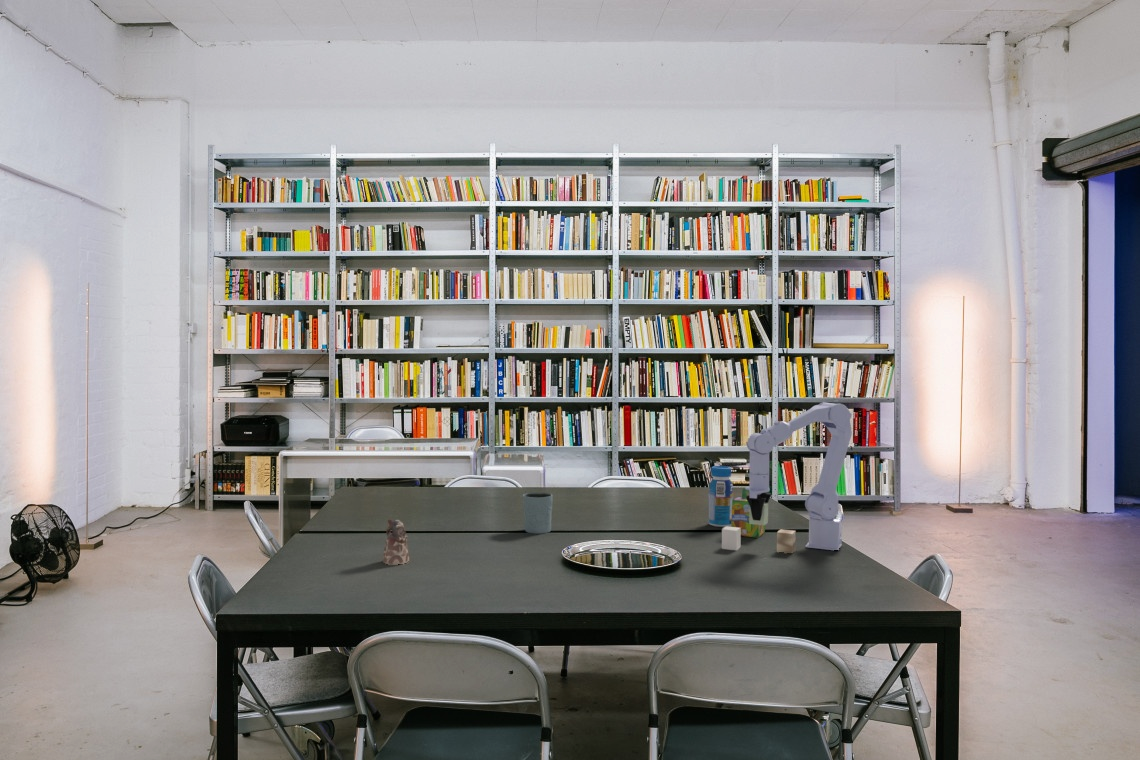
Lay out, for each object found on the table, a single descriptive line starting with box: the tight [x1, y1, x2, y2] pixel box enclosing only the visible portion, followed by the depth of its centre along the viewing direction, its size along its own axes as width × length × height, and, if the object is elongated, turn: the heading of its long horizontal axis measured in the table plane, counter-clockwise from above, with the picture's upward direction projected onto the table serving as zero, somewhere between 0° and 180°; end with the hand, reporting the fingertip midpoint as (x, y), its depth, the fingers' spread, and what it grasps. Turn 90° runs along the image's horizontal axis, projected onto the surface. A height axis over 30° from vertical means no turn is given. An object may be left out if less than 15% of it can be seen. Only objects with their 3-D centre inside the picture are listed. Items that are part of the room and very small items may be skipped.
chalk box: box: [730, 487, 766, 539], centre depth 250 cm, size 9×9×15 cm
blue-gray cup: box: [522, 492, 554, 534], centre depth 254 cm, size 10×10×12 cm
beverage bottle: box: [708, 465, 734, 528], centre depth 264 cm, size 8×8×20 cm
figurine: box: [382, 518, 410, 566], centre depth 214 cm, size 7×7×12 cm
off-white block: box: [721, 526, 742, 551], centre depth 232 cm, size 4×4×6 cm
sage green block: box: [749, 502, 769, 526], centre depth 229 cm, size 4×4×6 cm
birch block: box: [776, 528, 797, 554], centre depth 228 cm, size 4×4×6 cm
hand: (758, 518), depth 230 cm, fingers closed on sage green block, 4 cm apart
